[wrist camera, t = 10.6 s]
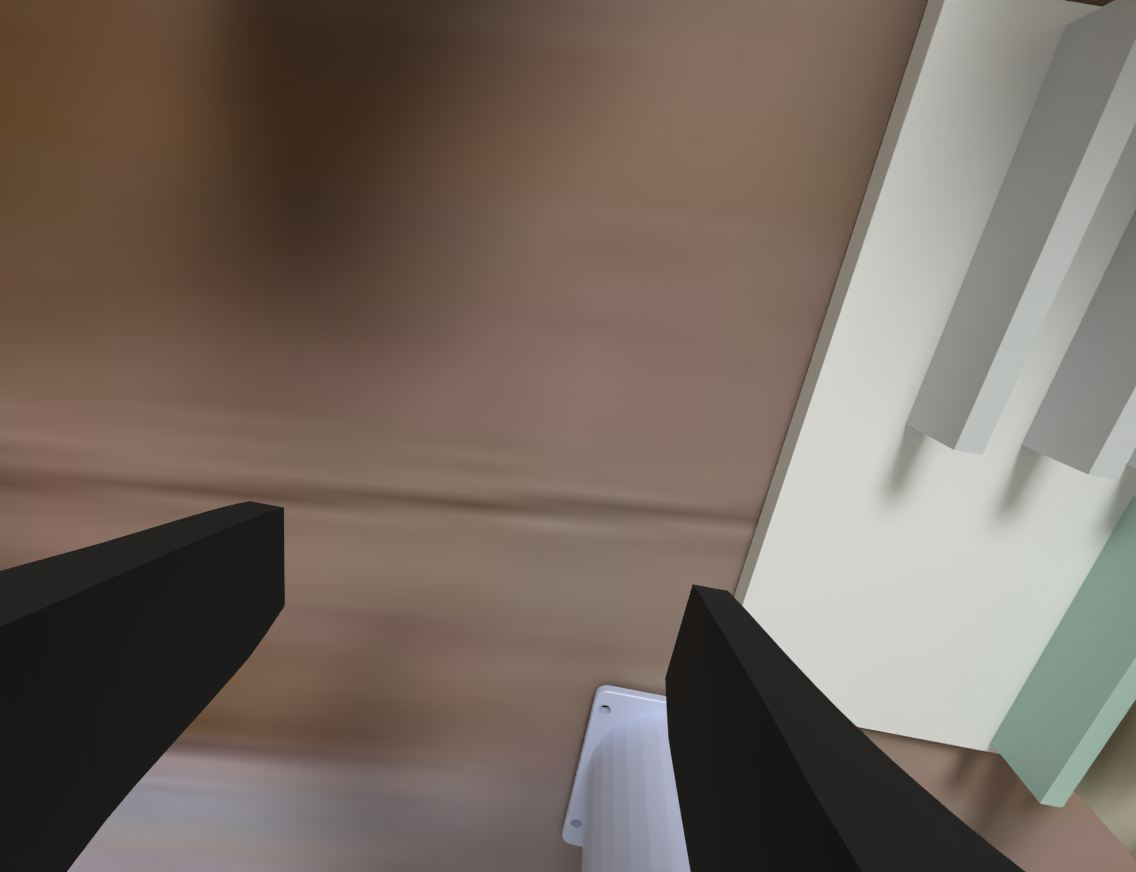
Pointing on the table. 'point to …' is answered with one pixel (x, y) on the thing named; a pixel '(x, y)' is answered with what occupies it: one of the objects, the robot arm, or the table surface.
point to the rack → (976, 406)
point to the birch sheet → (1115, 782)
